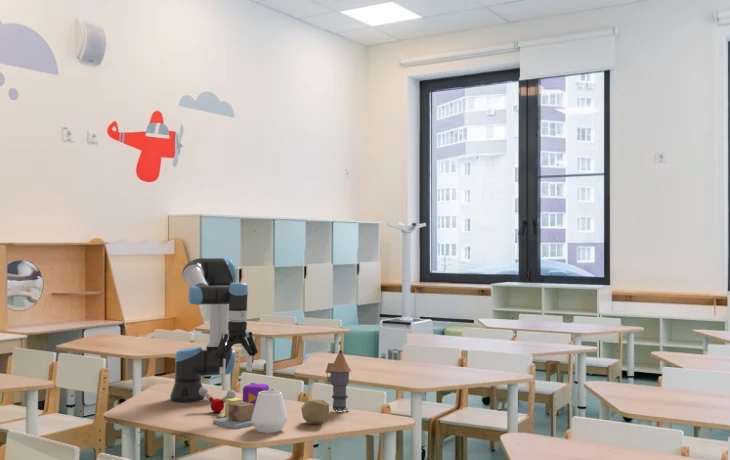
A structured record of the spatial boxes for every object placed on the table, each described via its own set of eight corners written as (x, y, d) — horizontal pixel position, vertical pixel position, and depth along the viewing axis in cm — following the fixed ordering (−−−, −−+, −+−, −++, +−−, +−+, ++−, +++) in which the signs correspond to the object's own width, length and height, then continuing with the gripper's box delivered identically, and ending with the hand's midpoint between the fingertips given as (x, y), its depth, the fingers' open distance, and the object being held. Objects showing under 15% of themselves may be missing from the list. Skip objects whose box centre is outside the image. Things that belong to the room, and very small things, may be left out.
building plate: (213, 422, 275) (213, 419, 275) (245, 416, 286) (245, 413, 287) (235, 428, 265) (235, 425, 265) (268, 422, 277) (268, 418, 277)
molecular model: (195, 411, 295) (196, 387, 296) (203, 409, 300) (204, 385, 301) (231, 415, 288) (231, 391, 289) (238, 413, 293) (239, 388, 294)
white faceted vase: (288, 433, 259) (289, 395, 260) (252, 434, 257) (253, 396, 257) (285, 425, 272) (286, 389, 273) (250, 426, 270) (251, 389, 270)
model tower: (331, 407, 308) (333, 338, 309) (354, 409, 303) (355, 339, 305) (321, 411, 299) (323, 340, 301) (345, 414, 295) (346, 341, 296)
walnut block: (228, 419, 275) (228, 403, 276) (242, 416, 281) (242, 401, 281) (239, 422, 271) (239, 406, 271) (253, 419, 276) (254, 403, 276)
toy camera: (272, 409, 302) (273, 386, 302) (241, 409, 302) (241, 385, 302) (276, 404, 312) (277, 382, 313) (245, 404, 313) (246, 381, 313)
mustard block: (224, 416, 287) (225, 399, 287) (234, 414, 290) (235, 397, 291) (232, 418, 283) (232, 400, 284) (242, 416, 287) (242, 399, 287)
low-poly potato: (310, 429, 268) (336, 414, 270) (296, 403, 270) (323, 388, 273) (309, 431, 282) (334, 417, 284) (296, 407, 284) (321, 393, 287)
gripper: (217, 323, 275) (216, 378, 274) (267, 319, 293) (265, 370, 293) (206, 321, 280) (204, 375, 279) (255, 318, 298) (254, 368, 298)
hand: (235, 373), depth 286 cm, fingers open, 13 cm apart
